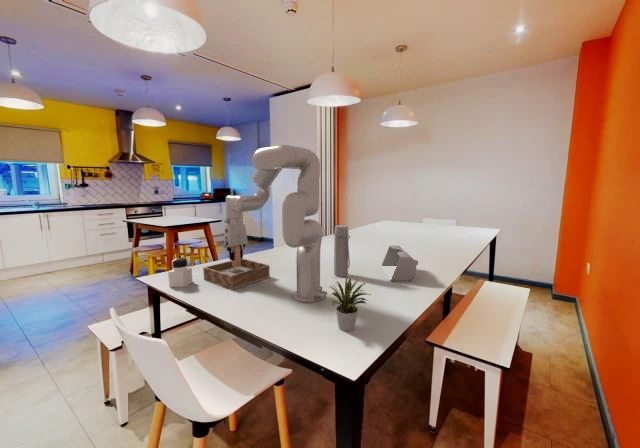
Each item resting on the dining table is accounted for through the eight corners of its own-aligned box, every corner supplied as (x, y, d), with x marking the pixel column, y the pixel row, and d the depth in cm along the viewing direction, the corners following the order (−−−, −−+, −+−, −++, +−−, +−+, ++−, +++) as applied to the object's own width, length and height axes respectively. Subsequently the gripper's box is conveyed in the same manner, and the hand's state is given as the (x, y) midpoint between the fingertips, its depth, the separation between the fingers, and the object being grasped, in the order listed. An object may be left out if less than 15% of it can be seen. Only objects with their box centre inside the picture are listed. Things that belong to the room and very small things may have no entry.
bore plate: (257, 275, 139) (257, 270, 138) (233, 283, 128) (233, 277, 128) (240, 270, 147) (240, 265, 147) (216, 277, 136) (215, 272, 136)
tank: (424, 282, 132) (426, 256, 131) (390, 282, 133) (391, 256, 131) (409, 267, 157) (410, 245, 155) (380, 266, 158) (381, 244, 156)
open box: (269, 277, 140) (269, 265, 139) (231, 290, 122) (230, 276, 122) (241, 268, 153) (241, 258, 152) (204, 279, 136) (203, 267, 135)
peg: (242, 265, 137) (241, 244, 136) (235, 267, 134) (234, 246, 133) (237, 263, 140) (236, 243, 138) (230, 265, 137) (229, 245, 135)
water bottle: (330, 275, 143) (330, 226, 139) (341, 271, 148) (341, 224, 145) (343, 279, 136) (344, 228, 133) (354, 276, 141) (355, 226, 138)
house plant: (341, 346, 80) (342, 291, 77) (313, 326, 91) (313, 277, 89) (376, 331, 88) (378, 281, 86) (347, 315, 99) (347, 269, 97)
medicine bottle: (192, 282, 132) (191, 257, 131) (184, 287, 125) (182, 261, 124) (178, 281, 133) (176, 256, 131) (168, 287, 126) (166, 260, 124)
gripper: (224, 224, 125) (225, 264, 128) (254, 220, 138) (255, 256, 141) (214, 222, 130) (216, 261, 132) (244, 219, 143) (245, 254, 145)
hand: (236, 258), depth 136 cm, fingers closed on peg, 4 cm apart
